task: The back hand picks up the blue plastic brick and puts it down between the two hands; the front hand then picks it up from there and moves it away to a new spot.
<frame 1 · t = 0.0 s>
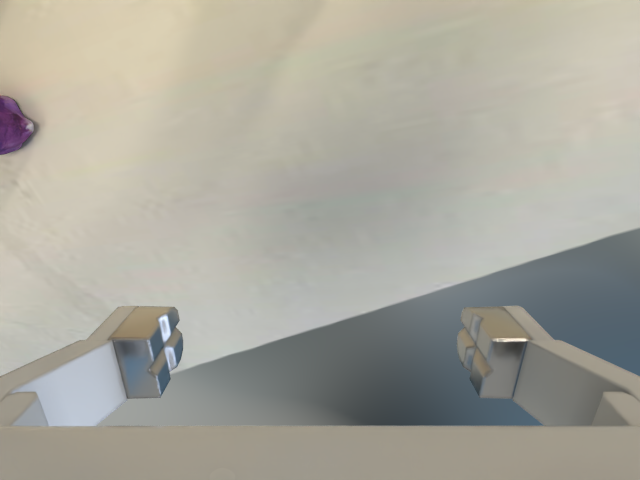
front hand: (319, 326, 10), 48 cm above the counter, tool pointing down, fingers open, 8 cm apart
figurine: (0, 125, 54), on the counter
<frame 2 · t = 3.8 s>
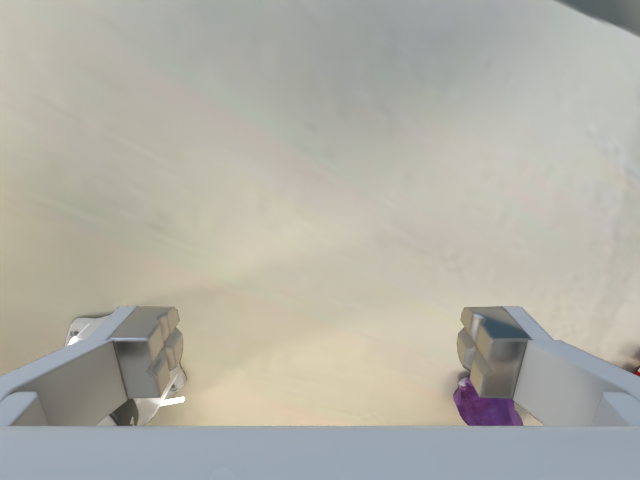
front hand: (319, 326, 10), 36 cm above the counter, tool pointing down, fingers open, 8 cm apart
figurine: (483, 391, 58), on the counter
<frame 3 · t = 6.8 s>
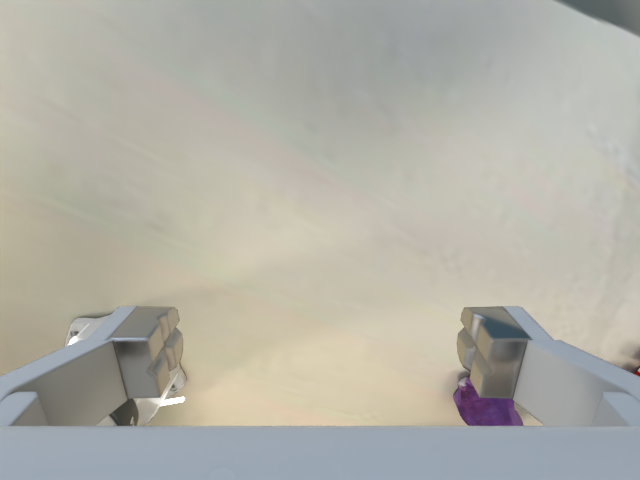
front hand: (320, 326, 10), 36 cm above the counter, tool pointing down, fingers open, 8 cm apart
figurine: (483, 391, 58), on the counter
when the back hand's fingers open (1 cm above the counter, at t = 10.1 s): brick drops 1 cm, on the counter.
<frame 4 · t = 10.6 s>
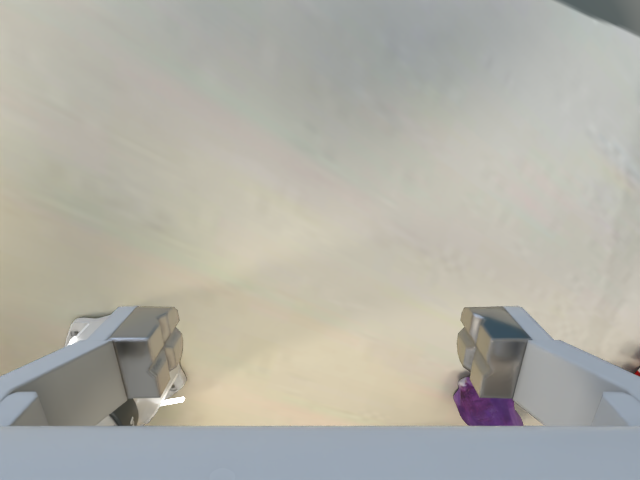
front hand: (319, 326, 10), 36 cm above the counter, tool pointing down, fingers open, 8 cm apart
figurine: (483, 391, 58), on the counter
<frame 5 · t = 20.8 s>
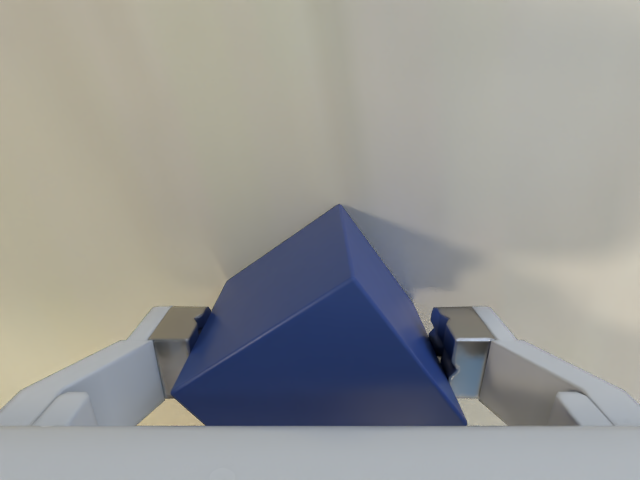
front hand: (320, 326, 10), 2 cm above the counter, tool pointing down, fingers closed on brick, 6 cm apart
brick: (321, 293, 12), on the counter, touching front hand
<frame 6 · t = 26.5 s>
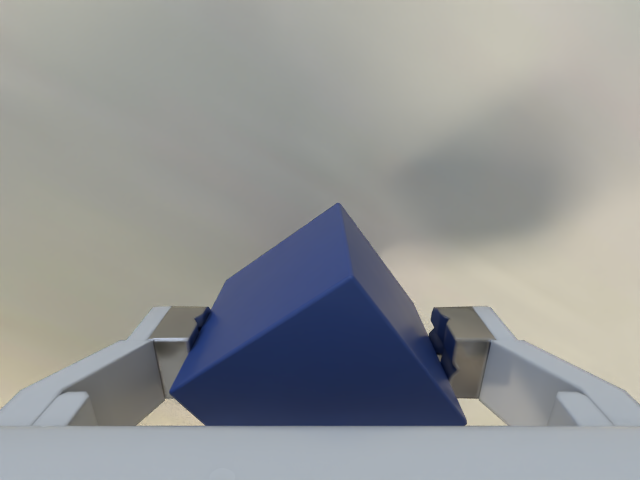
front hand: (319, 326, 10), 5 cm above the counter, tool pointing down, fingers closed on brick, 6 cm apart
brick: (320, 292, 12), point 3 cm above the counter, touching front hand
when the front hand's fingers open (3 cm above the counter, at t = 32.1 s): brick drops 1 cm, on the counter.
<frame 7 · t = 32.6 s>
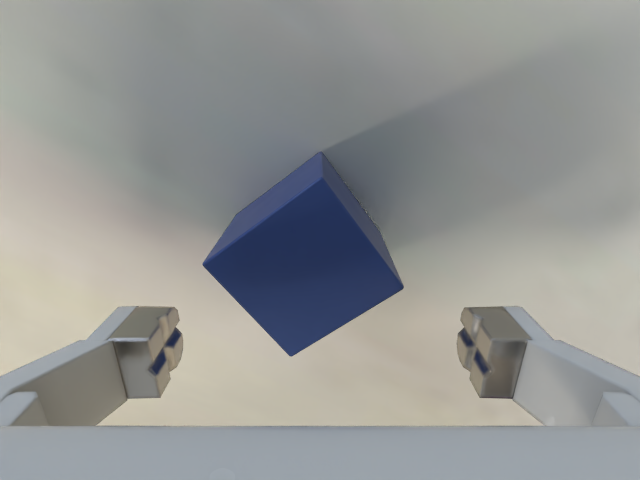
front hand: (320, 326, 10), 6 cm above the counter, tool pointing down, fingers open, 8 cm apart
brick: (308, 224, 16), on the counter
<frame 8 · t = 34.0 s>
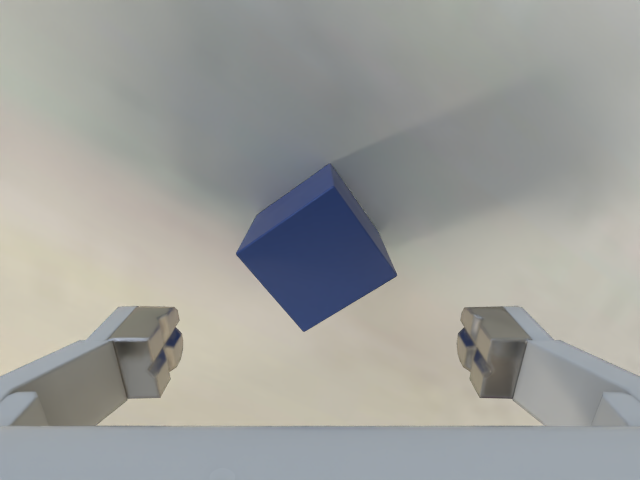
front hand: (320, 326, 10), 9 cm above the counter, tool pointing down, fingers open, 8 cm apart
brick: (318, 224, 18), on the counter
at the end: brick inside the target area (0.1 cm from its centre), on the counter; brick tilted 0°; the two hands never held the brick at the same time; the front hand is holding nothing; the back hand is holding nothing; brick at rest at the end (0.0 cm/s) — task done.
